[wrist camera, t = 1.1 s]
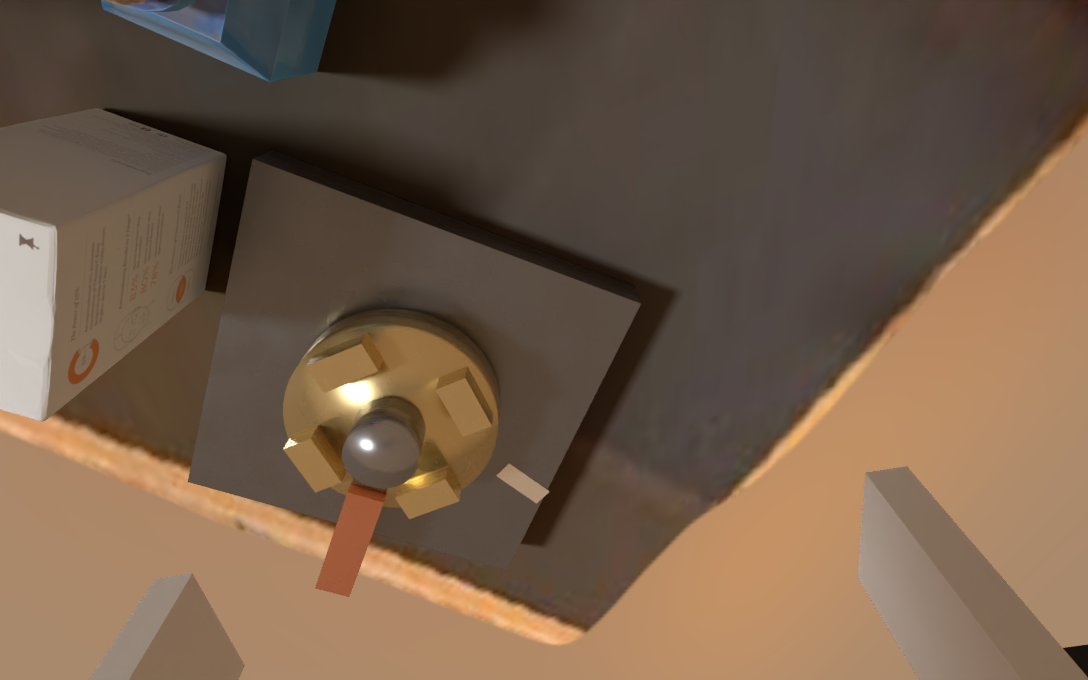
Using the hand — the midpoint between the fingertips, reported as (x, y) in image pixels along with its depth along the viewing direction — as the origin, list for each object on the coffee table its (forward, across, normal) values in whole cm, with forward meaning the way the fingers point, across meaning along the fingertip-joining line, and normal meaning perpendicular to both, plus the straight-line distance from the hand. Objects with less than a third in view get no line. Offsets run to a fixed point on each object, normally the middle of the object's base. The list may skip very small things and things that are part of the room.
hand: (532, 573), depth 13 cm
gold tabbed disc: (+21, -10, -10) cm, 26 cm away
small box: (+24, -19, +4) cm, 31 cm away
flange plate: (+24, -8, -8) cm, 26 cm away
